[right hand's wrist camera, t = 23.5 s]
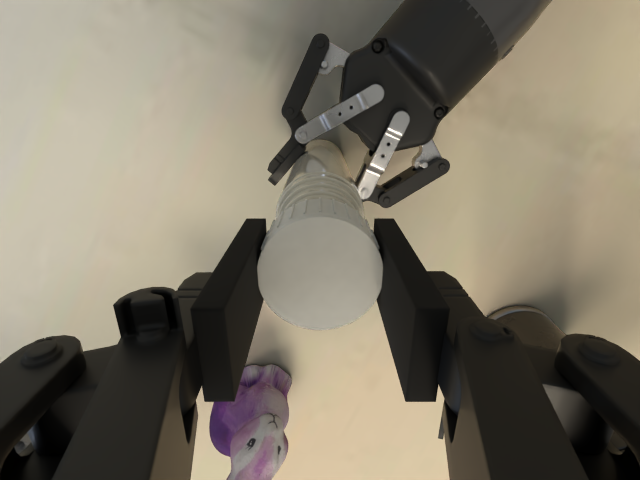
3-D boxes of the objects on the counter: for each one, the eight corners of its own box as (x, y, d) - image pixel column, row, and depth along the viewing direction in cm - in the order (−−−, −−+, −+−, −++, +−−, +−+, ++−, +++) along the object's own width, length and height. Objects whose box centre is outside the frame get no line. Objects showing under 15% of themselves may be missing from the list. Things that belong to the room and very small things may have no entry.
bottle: (317, 197, 35) (313, 343, 14) (285, 161, 34) (228, 261, 13) (353, 167, 34) (410, 275, 13) (323, 128, 33) (328, 178, 12)
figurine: (295, 354, 42) (283, 480, 28) (293, 418, 46) (281, 557, 32) (215, 351, 42) (164, 476, 28) (220, 416, 46) (176, 554, 32)
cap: (249, 276, 15) (237, 307, 13) (288, 178, 13) (282, 193, 11) (347, 312, 15) (351, 347, 13) (395, 222, 14) (408, 245, 12)
